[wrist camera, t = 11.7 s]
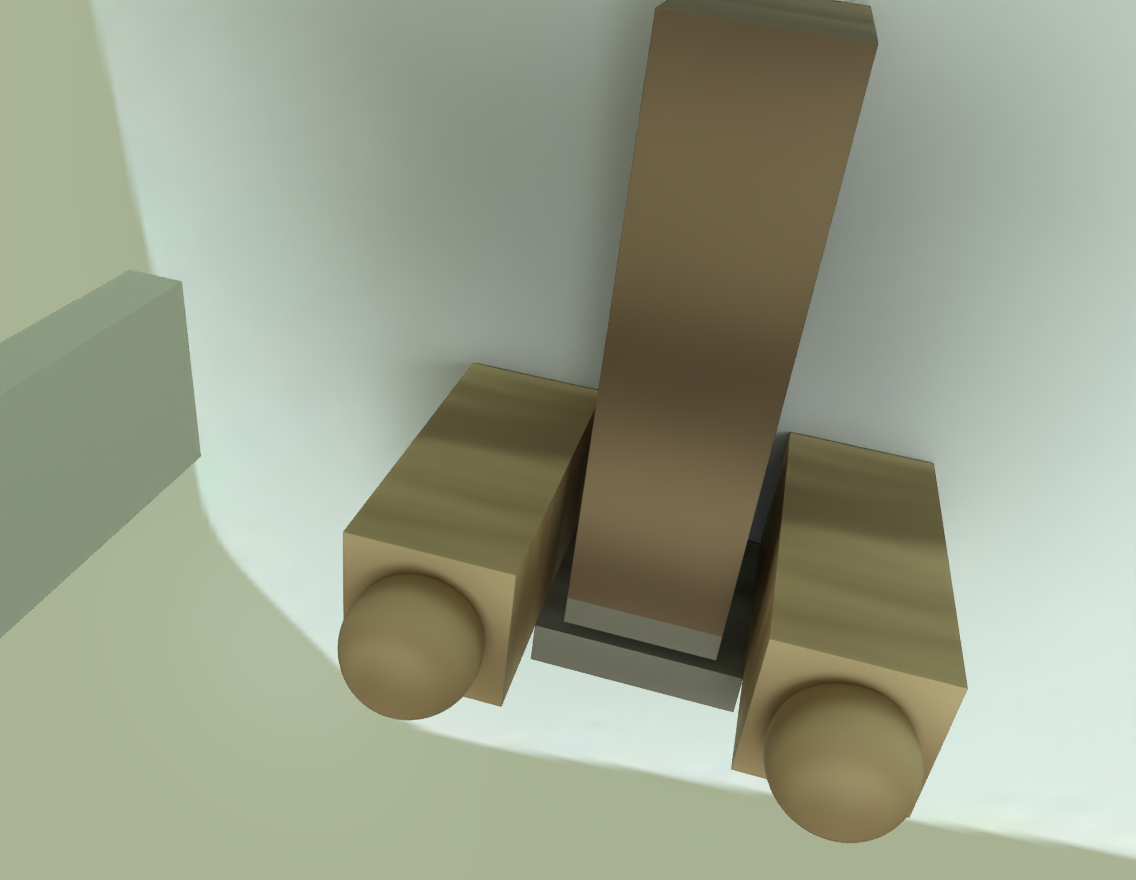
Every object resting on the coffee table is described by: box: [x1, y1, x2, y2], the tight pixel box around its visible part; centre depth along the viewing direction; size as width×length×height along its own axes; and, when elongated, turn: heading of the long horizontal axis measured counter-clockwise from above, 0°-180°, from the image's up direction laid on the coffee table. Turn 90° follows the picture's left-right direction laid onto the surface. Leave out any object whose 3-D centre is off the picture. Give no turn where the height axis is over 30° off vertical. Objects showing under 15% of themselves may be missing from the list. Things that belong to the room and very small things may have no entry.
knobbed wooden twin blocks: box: [338, 363, 968, 843], centre depth 25 cm, size 5×14×11 cm, turn 83°
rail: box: [564, 0, 878, 660], centre depth 24 cm, size 15×4×6 cm, turn 173°
